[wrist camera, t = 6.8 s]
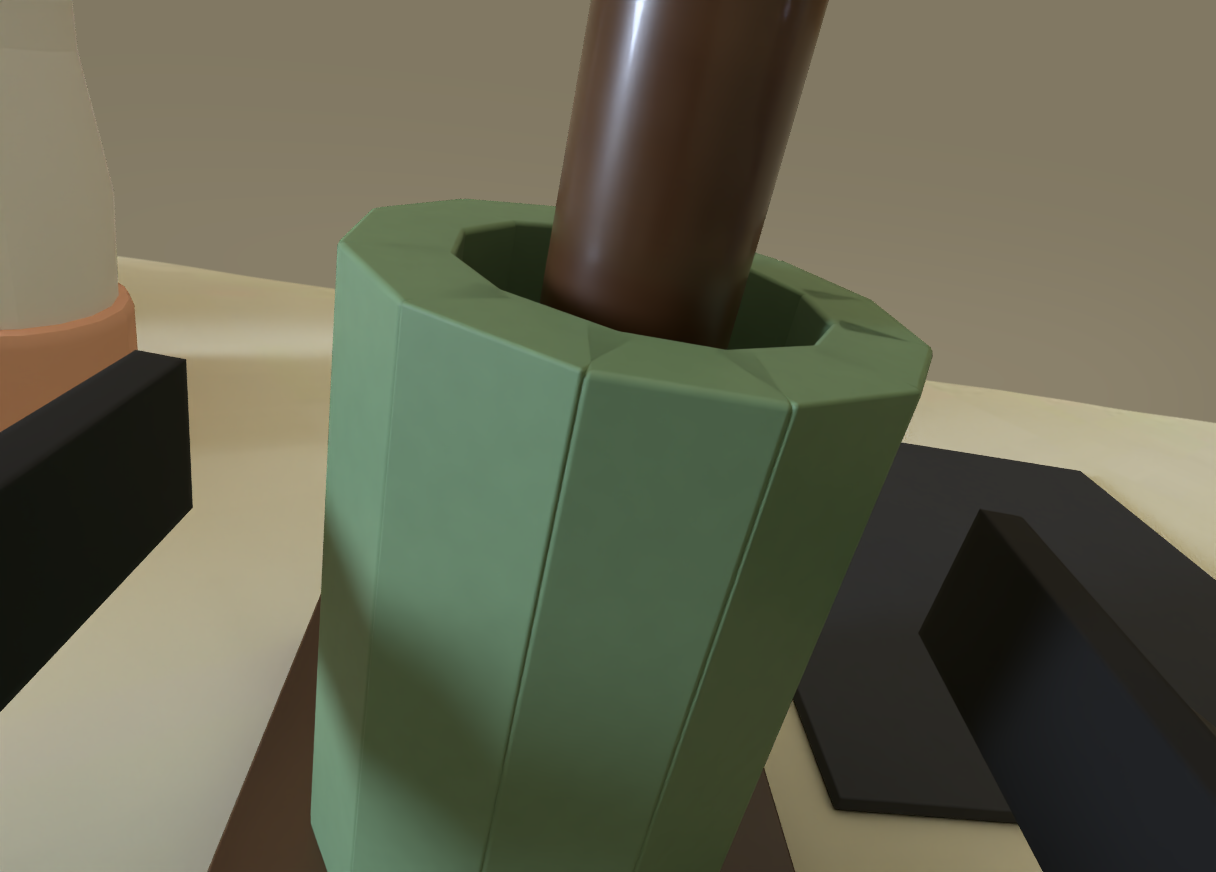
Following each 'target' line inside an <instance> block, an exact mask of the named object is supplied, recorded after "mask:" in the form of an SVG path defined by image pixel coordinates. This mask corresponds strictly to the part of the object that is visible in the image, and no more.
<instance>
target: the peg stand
mask: <svg viewBox="0 0 1216 872" xmlns="http://www.w3.org/2000/svg"><path fill="white" fill-rule="evenodd" d="M828 1H829V0H591V4H590V9H589V15H588V21H587V26H586V32H585V38H584V44H583V50H582V56H581V62H580V68H579V74H578V79H577V85H576V91H575V97H574V103H573V109H572V115H571V121H570V126H569V132H568V139H567V144H566V150H565V156H564V162H563V168H562V174H561V179H560V185H559V191H558V197H557V203H556V209H555V215H554V220H553V226H552V232H551V238H550V244H549V250H548V256H547V262H546V267H545V273H544V279H543V285H542V291H541V297H540V304H543V305H546V306H548V307H551V308H554V309H557V310H560V311H562V312H565V313H568V314H571V315H574V316H576V317H579V318H582V319H585V320H588V321H591V322H593V323H596V324H599V325H602V326H605V327H607V328H610V329H613V330H616V331H620V332H626V333H631V334H637V335H643V336H649V337H654V338H660V339H666V340H672V341H678V342H683V343H689V344H695V345H701V346H707V347H712V348H718V349H724V350H727V348H728V345H729V341H730V338H731V334H732V331H733V328H734V324H735V321H736V317H737V314H738V310H739V307H740V304H741V300H742V297H743V293H744V290H745V286H746V283H747V279H748V276H749V273H750V269H751V266H752V262H753V259H754V255H755V252H756V248H757V245H758V242H759V238H760V235H761V231H762V228H763V224H764V220H765V218H766V214H767V211H768V207H769V204H770V200H771V197H772V194H773V190H774V187H775V183H776V180H777V176H778V172H779V169H780V166H781V163H782V159H783V156H784V152H785V149H786V145H787V142H788V138H789V135H790V132H791V128H792V125H793V121H794V118H795V114H796V111H797V108H798V104H799V100H800V97H801V94H802V90H803V87H804V83H805V80H806V77H807V73H808V70H809V66H810V63H811V59H812V56H813V52H814V49H815V46H816V42H817V39H818V35H819V32H820V28H821V25H822V21H823V18H824V15H825V11H826V8H827V5H828ZM320 605H321V595H320V597H319V600H318V602H317V605H316V607H315V609H314V612H313V614H312V617H311V619H310V622H309V624H308V627H307V629H306V631H305V634H304V636H303V639H302V641H301V644H300V646H299V649H298V651H297V653H296V656H295V658H294V661H293V663H292V666H291V668H290V671H289V673H288V675H287V678H286V680H285V683H284V685H283V688H282V690H281V693H280V695H279V697H278V700H277V702H276V705H275V707H274V710H273V712H272V715H271V717H270V719H269V722H268V724H267V727H266V729H265V732H264V734H263V737H262V739H261V741H260V744H259V746H258V749H257V751H256V754H255V756H254V759H253V761H252V763H251V766H250V768H249V771H248V773H247V776H246V778H245V781H244V783H243V785H242V788H241V790H240V793H239V795H238V798H237V800H236V803H235V805H234V808H233V810H232V812H231V815H230V817H229V820H228V822H227V825H226V827H225V830H224V832H223V834H222V837H221V839H220V842H219V844H218V847H217V849H216V852H215V854H214V856H213V859H212V861H211V864H210V866H209V869H208V871H207V872H327V869H326V866H325V863H324V860H323V857H322V854H321V851H320V849H319V846H318V843H317V840H316V837H315V834H314V831H313V828H312V825H311V796H312V775H313V754H314V732H315V711H316V690H317V669H318V648H319V626H320ZM720 872H795V870H794V867H793V863H792V860H791V857H790V853H789V850H788V847H787V843H786V840H785V837H784V833H783V830H782V827H781V823H780V820H779V817H778V813H777V810H776V806H775V803H774V800H773V796H772V793H771V790H770V786H769V783H768V780H767V776H766V773H765V770H764V768H763V770H762V773H761V775H760V778H759V780H758V782H757V785H756V787H755V789H754V792H753V794H752V796H751V799H750V801H749V804H748V806H747V808H746V811H745V813H744V815H743V818H742V820H741V823H740V825H739V827H738V830H737V832H736V834H735V837H734V839H733V841H732V844H731V846H730V849H729V851H728V853H727V856H726V858H725V860H724V863H723V865H722V867H721V870H720Z"/></svg>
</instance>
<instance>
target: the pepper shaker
mask: <svg viewBox="0 0 1216 872" xmlns="http://www.w3.org/2000/svg"><path fill="white" fill-rule="evenodd" d="M135 350H138V349H137V335H136V322H135V309H134V303H133V301H132V299H131V297H130V295H129V293H128V291H127V290H126V288H125V287H124V286H123V285H121V284H120V283H118V270H117V250H116V230H115V208H114V189H113V186H112V182H111V178H110V174H109V170H108V166H107V162H106V158H105V155H104V151H103V147H102V143H101V139H100V135H99V131H98V127H97V123H96V119H95V115H94V112H93V108H92V104H91V100H90V96H89V92H88V89H87V84H86V81H85V76H84V73H83V69H82V65H81V61H80V57H79V53H78V48H77V38H76V29H75V20H74V10H73V1H72V0H0V432H1V431H3V430H5V429H6V428H8V427H10V426H11V425H13V424H15V423H16V422H18V421H20V420H21V419H23V418H24V417H26V416H28V415H29V414H31V413H33V412H34V411H36V410H38V409H39V408H41V407H43V406H44V405H46V404H47V403H49V402H51V401H52V400H54V399H56V398H57V397H59V396H61V395H62V394H64V393H66V392H67V391H69V390H70V389H72V388H74V387H75V386H77V385H79V384H80V383H82V382H84V381H85V380H87V379H89V378H90V377H92V376H93V375H95V374H97V373H98V372H100V371H102V370H103V369H105V368H107V367H108V366H110V365H112V364H113V363H115V362H116V361H118V360H120V359H121V358H123V357H125V356H126V355H128V354H130V353H131V352H133V351H135Z"/></svg>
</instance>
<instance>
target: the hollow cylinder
mask: <svg viewBox="0 0 1216 872" xmlns="http://www.w3.org/2000/svg"><path fill="white" fill-rule="evenodd" d="M555 209H556V206H545V205H532V204H522V203H510V202H498V201H486V200H474V199H455V200H446V201H436V202H426V203H417V204H407V205H397V206H387V207H380V208H374V209H372V210H371V211H370V212H369V213H368V214H367V215H366V216H365V217H364V218H363V219H362V220H360V222H358V223H357V224H356V225H355V226H354V227H353V228H352V229H351V230H350V231H349V232H348V233H347V234H346V235H345V236H344V237H343V238H342V239H341V240H340V241H339V243H338V245H337V266H336V287H335V308H334V329H333V351H332V372H331V393H330V414H329V435H328V457H327V478H326V499H325V520H324V542H323V563H322V584H321V605H320V626H319V648H318V669H317V690H316V711H315V732H314V754H313V775H312V796H311V825H312V828H313V831H314V834H315V837H316V840H317V843H318V846H319V849H320V851H321V854H322V857H323V860H324V863H325V866H326V869H327V872H720V870H721V867H722V865H723V863H724V860H725V858H726V856H727V853H728V851H729V849H730V846H731V844H732V841H733V839H734V837H735V834H736V832H737V830H738V827H739V825H740V823H741V820H742V818H743V815H744V813H745V811H746V808H747V806H748V804H749V801H750V799H751V796H752V794H753V792H754V789H755V787H756V785H757V782H758V780H759V778H760V775H761V773H762V770H763V768H764V766H765V763H766V761H767V759H768V756H769V754H770V752H771V749H772V747H773V744H774V742H775V740H776V737H777V735H778V733H779V730H780V728H781V726H782V723H783V721H784V718H785V716H786V714H787V711H788V709H789V707H790V704H791V702H792V700H793V697H794V695H795V692H796V690H797V688H798V685H799V683H800V681H801V678H802V676H803V674H804V671H805V669H806V666H807V664H808V662H809V659H810V657H811V655H812V652H813V650H814V647H815V645H816V643H817V640H818V638H819V636H820V633H821V631H822V629H823V626H824V624H825V621H826V619H827V617H828V614H829V612H830V610H831V607H832V605H833V603H834V600H835V598H836V595H837V593H838V591H839V588H840V586H841V584H842V581H843V579H844V577H845V574H846V572H847V569H848V567H849V565H850V562H851V560H852V558H853V555H854V553H855V551H856V548H857V546H858V543H859V541H860V539H861V536H862V534H863V532H864V529H865V527H866V525H867V522H868V520H869V517H870V515H871V513H872V510H873V508H874V506H875V503H876V501H877V498H878V496H879V494H880V491H881V489H882V487H883V484H884V482H885V480H886V477H887V475H888V472H889V470H890V468H891V465H892V463H893V461H894V458H895V456H896V454H897V451H898V449H899V446H900V444H901V442H902V439H903V437H904V435H905V432H906V430H907V428H908V425H909V423H910V420H911V418H912V416H913V413H914V411H915V409H916V406H917V404H918V402H919V399H920V397H921V394H922V390H923V387H924V383H925V380H926V376H927V373H928V370H929V366H930V363H931V359H932V350H931V347H929V346H928V345H927V344H926V343H924V342H923V341H922V340H921V339H919V338H918V337H917V336H916V335H914V334H913V333H912V332H911V331H909V330H908V329H907V328H906V327H904V326H903V325H902V324H901V323H899V322H898V321H897V320H896V319H894V318H893V317H892V316H891V315H889V314H888V313H887V312H886V311H884V310H883V309H882V308H881V307H879V306H878V305H877V304H875V303H874V302H873V301H872V300H870V299H868V298H865V297H863V296H861V295H859V294H856V293H854V292H852V291H850V290H847V289H845V288H843V287H840V286H838V285H836V284H834V283H832V282H829V281H827V280H825V279H822V278H820V277H818V276H816V275H813V274H811V273H809V272H807V271H804V270H802V269H800V268H798V267H795V266H793V265H791V264H788V263H786V262H784V261H778V260H777V259H774V258H771V257H768V256H764V255H761V254H757V253H755V255H754V259H753V262H752V266H751V269H750V273H749V276H748V279H747V283H746V286H745V290H744V293H743V297H742V300H741V304H740V307H739V310H738V314H737V317H736V321H735V324H734V328H733V331H732V334H731V338H730V341H729V345H728V348H727V350H724V349H718V348H712V347H707V346H701V345H695V344H689V343H683V342H678V341H672V340H666V339H660V338H654V337H649V336H643V335H637V334H631V333H626V332H620V331H616V330H613V329H610V328H607V327H605V326H602V325H599V324H596V323H593V322H591V321H588V320H585V319H582V318H579V317H576V316H574V315H571V314H568V313H565V312H562V311H560V310H557V309H554V308H551V307H548V306H546V305H543V304H540V297H541V291H542V285H543V279H544V273H545V267H546V262H547V256H548V250H549V244H550V238H551V232H552V226H553V220H554V215H555Z"/></svg>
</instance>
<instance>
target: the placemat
mask: <svg viewBox="0 0 1216 872" xmlns="http://www.w3.org/2000/svg"><path fill="white" fill-rule="evenodd" d="M979 509H984V510H989V511H995V512H1000V513H1005V514H1011V515H1016V516H1021V517H1023V518H1024V519H1025V521H1026V522H1027V523H1028V524H1029V525H1030V526H1031V527H1032V528H1033V530H1034V531H1035V532H1036V533H1037V534H1038V535H1039V536H1040V538H1041V539H1042V540H1043V541H1044V542H1045V543H1046V544H1047V545H1048V547H1049V548H1050V549H1051V550H1052V551H1053V552H1054V553H1055V555H1056V556H1057V557H1058V558H1059V559H1060V560H1061V561H1062V563H1063V564H1064V565H1065V566H1066V567H1067V568H1068V569H1069V570H1070V572H1071V573H1072V574H1073V575H1074V576H1075V577H1076V578H1077V580H1078V581H1079V582H1080V583H1081V584H1082V585H1083V586H1084V587H1085V589H1086V590H1087V591H1088V592H1089V593H1090V594H1091V595H1092V597H1093V598H1094V599H1095V600H1096V601H1097V602H1098V603H1099V605H1100V606H1101V607H1102V608H1103V609H1104V610H1105V611H1106V612H1107V614H1108V615H1109V616H1110V617H1111V618H1112V619H1113V620H1114V622H1115V623H1116V624H1117V625H1118V626H1119V627H1120V628H1121V629H1122V631H1123V632H1124V633H1125V634H1126V635H1127V636H1128V637H1129V639H1130V640H1131V641H1132V642H1133V643H1134V644H1135V645H1136V647H1137V648H1138V649H1139V650H1140V651H1141V652H1142V653H1143V654H1144V656H1145V657H1146V658H1147V659H1148V660H1149V661H1150V662H1151V664H1152V665H1153V666H1154V667H1155V668H1156V669H1157V670H1158V671H1159V673H1160V674H1161V675H1162V676H1163V677H1164V678H1165V679H1166V681H1167V682H1168V683H1169V684H1170V685H1171V686H1172V687H1173V688H1174V690H1175V691H1176V692H1177V693H1178V694H1179V695H1180V696H1181V698H1182V699H1183V700H1184V701H1185V702H1186V703H1187V704H1188V706H1189V707H1191V708H1192V709H1194V710H1195V711H1196V712H1197V713H1199V714H1200V715H1201V716H1202V717H1204V718H1205V719H1206V720H1207V721H1209V722H1210V723H1211V724H1213V725H1214V726H1215V727H1216V580H1215V579H1213V578H1212V577H1211V576H1210V575H1208V574H1207V573H1206V572H1205V571H1204V570H1202V569H1201V568H1200V567H1199V566H1197V565H1196V564H1195V563H1194V562H1192V561H1191V560H1190V559H1189V558H1187V557H1186V556H1185V555H1184V554H1182V553H1181V552H1180V551H1179V550H1177V549H1176V548H1175V547H1174V546H1173V545H1171V544H1170V543H1169V542H1168V541H1166V540H1165V539H1164V538H1163V537H1161V536H1160V535H1159V534H1158V533H1156V532H1155V531H1154V530H1153V529H1151V528H1150V527H1149V526H1148V525H1146V524H1145V523H1144V522H1143V521H1142V520H1140V519H1139V518H1138V517H1137V516H1135V515H1134V514H1133V513H1132V512H1130V511H1129V510H1128V509H1127V508H1125V507H1124V506H1123V505H1122V504H1120V503H1119V502H1118V501H1117V500H1115V499H1114V498H1113V497H1112V496H1111V495H1109V494H1108V493H1107V492H1106V491H1104V490H1103V489H1102V488H1101V487H1099V486H1098V485H1097V484H1096V483H1094V482H1093V481H1092V480H1091V479H1089V478H1088V477H1087V476H1086V475H1085V474H1083V473H1082V472H1081V471H1077V470H1071V469H1064V468H1058V467H1052V466H1045V465H1039V464H1033V463H1027V462H1020V461H1014V460H1008V459H1001V458H995V457H989V456H983V455H976V454H970V453H964V452H957V451H951V450H945V449H939V448H932V447H926V446H920V445H913V444H907V443H901V444H900V446H899V449H898V451H897V454H896V456H895V458H894V461H893V463H892V465H891V468H890V470H889V472H888V475H887V477H886V480H885V482H884V484H883V487H882V489H881V491H880V494H879V496H878V498H877V501H876V503H875V506H874V508H873V510H872V513H871V515H870V517H869V520H868V522H867V525H866V527H865V529H864V532H863V534H862V536H861V539H860V541H859V543H858V546H857V548H856V551H855V553H854V555H853V558H852V560H851V562H850V565H849V567H848V569H847V572H846V574H845V577H844V579H843V581H842V584H841V586H840V588H839V591H838V593H837V595H836V598H835V600H834V603H833V605H832V607H831V610H830V612H829V614H828V617H827V619H826V621H825V624H824V626H823V629H822V631H821V633H820V636H819V638H818V640H817V643H816V645H815V647H814V650H813V652H812V655H811V657H810V659H809V662H808V664H807V666H806V669H805V671H804V674H803V676H802V678H801V681H800V683H799V685H798V688H797V690H796V692H795V695H794V697H793V699H794V701H795V704H796V707H797V709H798V712H799V715H800V717H801V720H802V723H803V725H804V728H805V731H806V733H807V736H808V739H809V741H810V744H811V747H812V749H813V752H814V755H815V757H816V760H817V763H818V765H819V768H820V771H821V773H822V776H823V779H824V781H825V784H826V787H827V790H828V792H829V795H830V798H831V800H832V803H833V806H834V808H835V809H843V810H856V811H869V812H881V813H894V814H907V815H920V816H933V817H946V818H959V819H972V820H985V821H998V822H1011V823H1017V821H1016V819H1015V817H1014V815H1013V814H1012V812H1011V810H1010V808H1009V806H1008V804H1007V802H1006V800H1005V798H1004V796H1003V794H1002V793H1001V791H1000V789H999V787H998V785H997V783H996V781H995V779H994V777H993V775H992V773H991V771H990V770H989V768H988V766H987V764H986V762H985V760H984V758H983V756H982V754H981V752H980V750H979V749H978V747H977V745H976V743H975V741H974V739H973V737H972V735H971V733H970V731H969V729H968V727H967V726H966V724H965V722H964V720H963V718H962V716H961V714H960V712H959V710H958V708H957V706H956V705H955V703H954V701H953V699H952V697H951V695H950V693H949V691H948V689H947V687H946V685H945V683H944V682H943V680H942V678H941V676H940V674H939V672H938V670H937V668H936V666H935V664H934V662H933V661H932V659H931V657H930V655H929V653H928V651H927V649H926V647H925V645H924V643H923V641H922V639H921V638H920V636H919V634H918V632H919V630H920V628H921V626H922V624H923V622H924V620H925V618H926V616H927V614H928V612H929V610H930V608H931V606H932V604H933V602H934V600H935V598H936V596H937V594H938V592H939V590H940V588H941V586H942V584H943V582H944V580H945V578H946V576H947V574H948V572H949V570H950V568H951V566H952V564H953V562H954V560H955V558H956V556H957V554H958V552H959V550H960V548H961V546H962V544H963V542H964V540H965V537H966V535H967V533H968V531H969V529H970V527H971V525H972V523H973V521H974V519H975V517H976V515H977V513H978V511H979Z"/></svg>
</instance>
